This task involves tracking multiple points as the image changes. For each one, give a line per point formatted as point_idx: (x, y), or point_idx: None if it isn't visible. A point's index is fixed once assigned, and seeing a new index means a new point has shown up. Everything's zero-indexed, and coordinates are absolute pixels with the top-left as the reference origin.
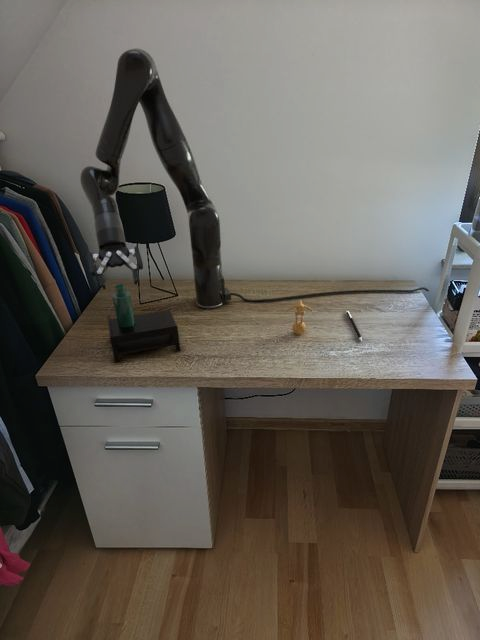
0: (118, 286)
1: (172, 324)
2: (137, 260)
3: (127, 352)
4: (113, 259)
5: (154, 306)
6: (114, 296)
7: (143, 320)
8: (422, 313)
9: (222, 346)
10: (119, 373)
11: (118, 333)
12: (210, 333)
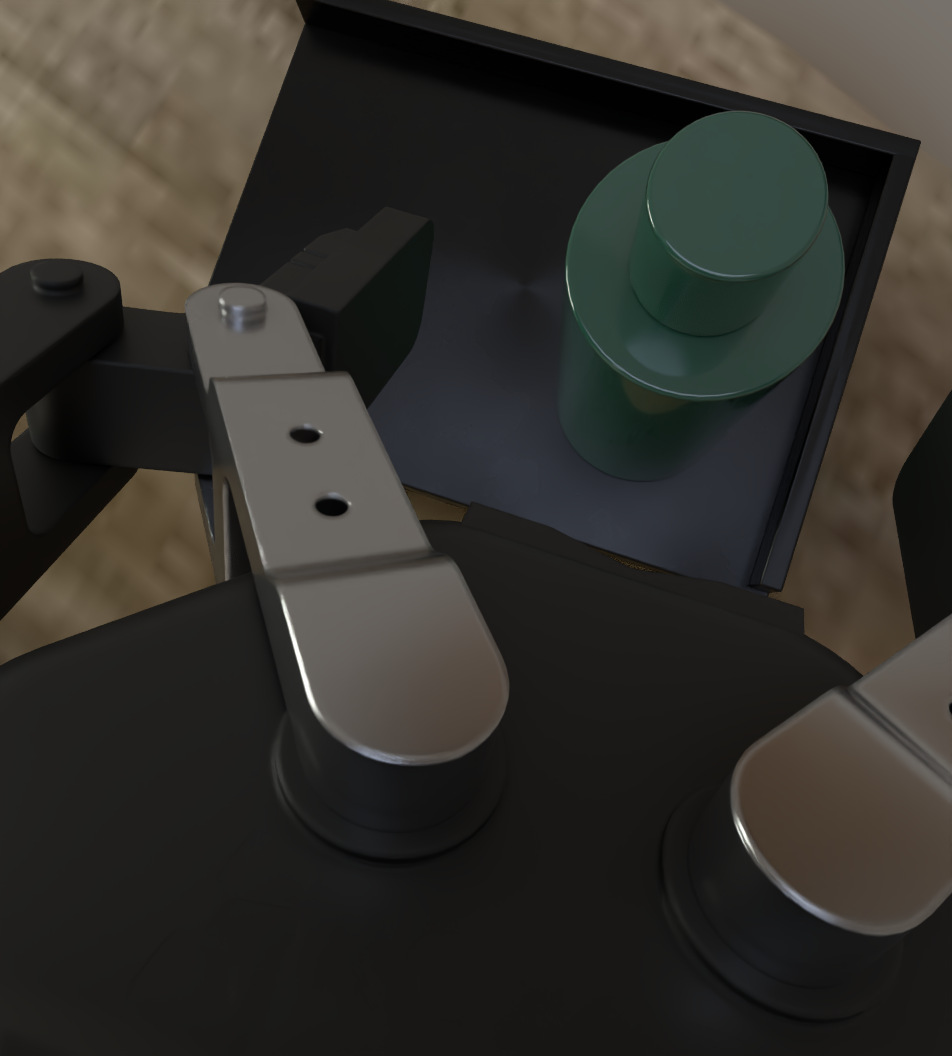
0: (762, 188)
1: (300, 114)
2: (42, 350)
3: None
4: (671, 672)
5: None
6: (817, 263)
7: (481, 350)
8: None
9: (97, 22)
10: None
11: None
12: (57, 227)
